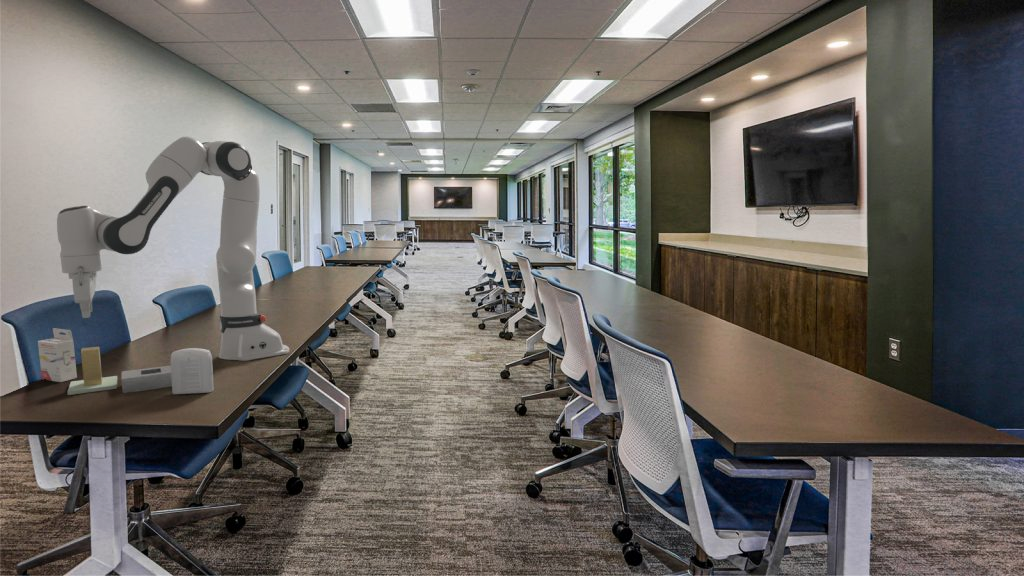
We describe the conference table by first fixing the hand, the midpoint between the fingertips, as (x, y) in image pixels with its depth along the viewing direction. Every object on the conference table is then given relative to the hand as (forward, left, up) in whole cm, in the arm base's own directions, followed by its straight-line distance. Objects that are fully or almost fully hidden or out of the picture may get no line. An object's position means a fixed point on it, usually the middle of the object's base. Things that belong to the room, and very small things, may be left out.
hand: (87, 314), depth 164 cm
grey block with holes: (-16, +7, -21) cm, 27 cm away
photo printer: (-23, +21, -21) cm, 38 cm away
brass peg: (0, 0, -20) cm, 20 cm away
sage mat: (0, 0, -21) cm, 21 cm away
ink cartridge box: (+9, -15, -21) cm, 27 cm away
